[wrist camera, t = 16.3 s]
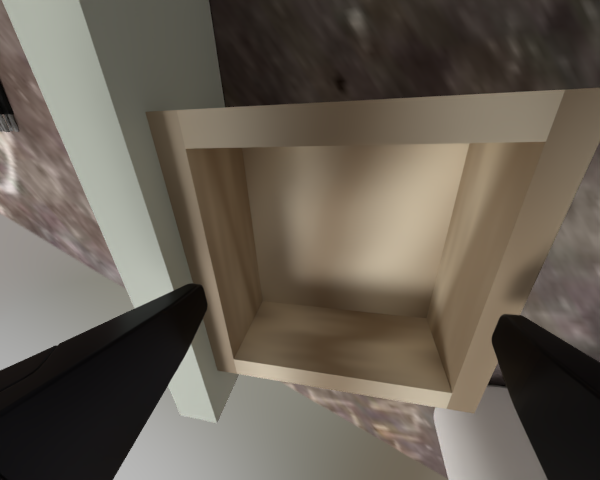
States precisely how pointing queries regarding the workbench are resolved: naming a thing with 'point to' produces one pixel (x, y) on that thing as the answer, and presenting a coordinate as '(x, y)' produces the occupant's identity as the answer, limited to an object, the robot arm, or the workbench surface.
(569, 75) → the workbench surface
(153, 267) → the panel
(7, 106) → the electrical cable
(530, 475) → the can
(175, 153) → the wooden drawer box
